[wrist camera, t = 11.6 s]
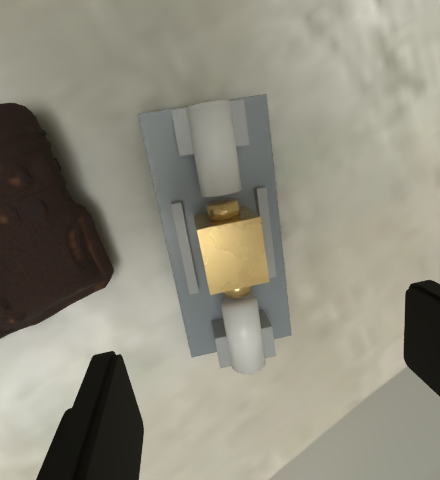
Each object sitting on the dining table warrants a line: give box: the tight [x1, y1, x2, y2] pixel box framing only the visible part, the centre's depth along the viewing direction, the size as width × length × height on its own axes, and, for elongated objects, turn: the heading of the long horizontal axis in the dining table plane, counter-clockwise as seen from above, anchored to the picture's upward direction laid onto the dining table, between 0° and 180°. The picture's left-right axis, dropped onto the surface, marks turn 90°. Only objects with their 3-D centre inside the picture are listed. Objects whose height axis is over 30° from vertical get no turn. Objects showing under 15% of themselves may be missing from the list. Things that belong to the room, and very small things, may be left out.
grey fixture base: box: [138, 94, 291, 374], centre depth 25 cm, size 22×10×6 cm, turn 9°
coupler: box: [194, 198, 270, 299], centre depth 24 cm, size 7×4×5 cm, turn 10°
